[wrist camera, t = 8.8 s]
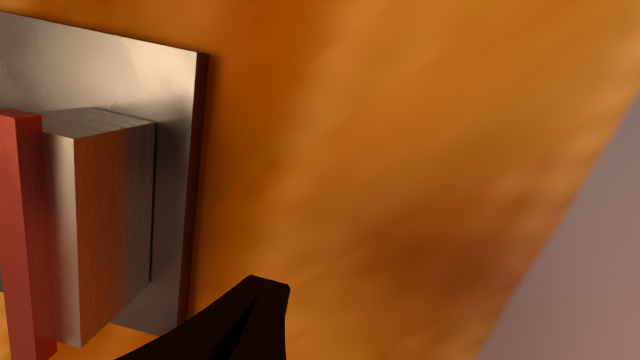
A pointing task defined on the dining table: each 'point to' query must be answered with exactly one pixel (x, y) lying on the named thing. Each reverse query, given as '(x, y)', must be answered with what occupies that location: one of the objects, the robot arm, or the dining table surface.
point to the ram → (72, 223)
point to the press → (131, 100)
